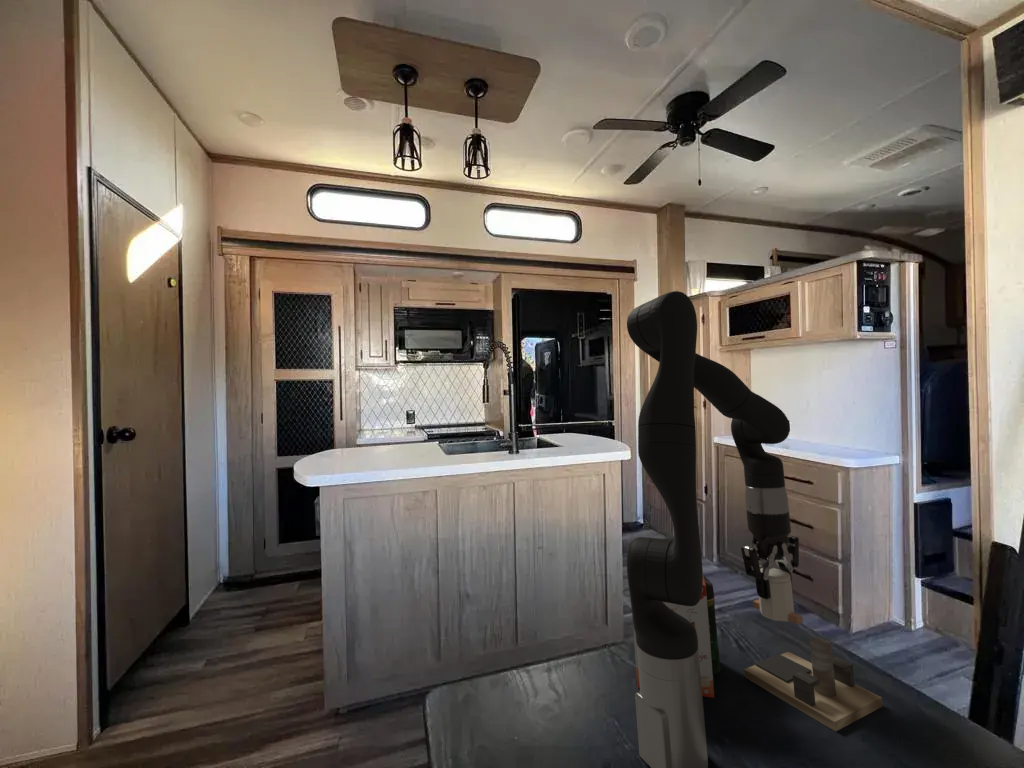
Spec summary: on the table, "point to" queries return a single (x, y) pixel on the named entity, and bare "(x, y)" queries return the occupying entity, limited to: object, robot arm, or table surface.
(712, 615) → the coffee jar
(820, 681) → the bulb mounting plate
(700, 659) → the cracker box
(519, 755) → the table surface
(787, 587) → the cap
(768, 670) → the mat
